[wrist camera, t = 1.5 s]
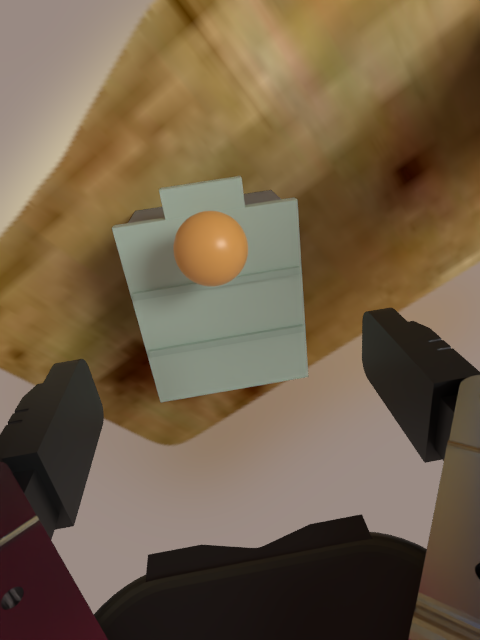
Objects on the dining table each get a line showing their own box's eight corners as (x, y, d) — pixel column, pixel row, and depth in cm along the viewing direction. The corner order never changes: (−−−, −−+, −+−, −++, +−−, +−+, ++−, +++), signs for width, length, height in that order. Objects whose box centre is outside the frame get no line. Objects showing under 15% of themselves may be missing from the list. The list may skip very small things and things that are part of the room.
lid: (292, 167, 25) (326, 184, 19) (305, 371, 32) (333, 432, 26) (106, 196, 24) (77, 222, 18) (161, 395, 32) (154, 464, 25)
